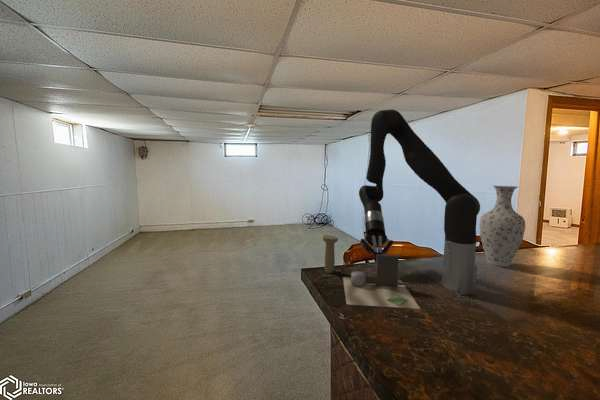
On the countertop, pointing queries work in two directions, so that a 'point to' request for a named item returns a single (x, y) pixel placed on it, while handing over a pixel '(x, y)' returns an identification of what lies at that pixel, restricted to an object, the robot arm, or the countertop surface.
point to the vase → (501, 229)
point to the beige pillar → (329, 253)
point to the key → (380, 273)
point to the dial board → (378, 295)
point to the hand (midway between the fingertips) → (378, 263)
